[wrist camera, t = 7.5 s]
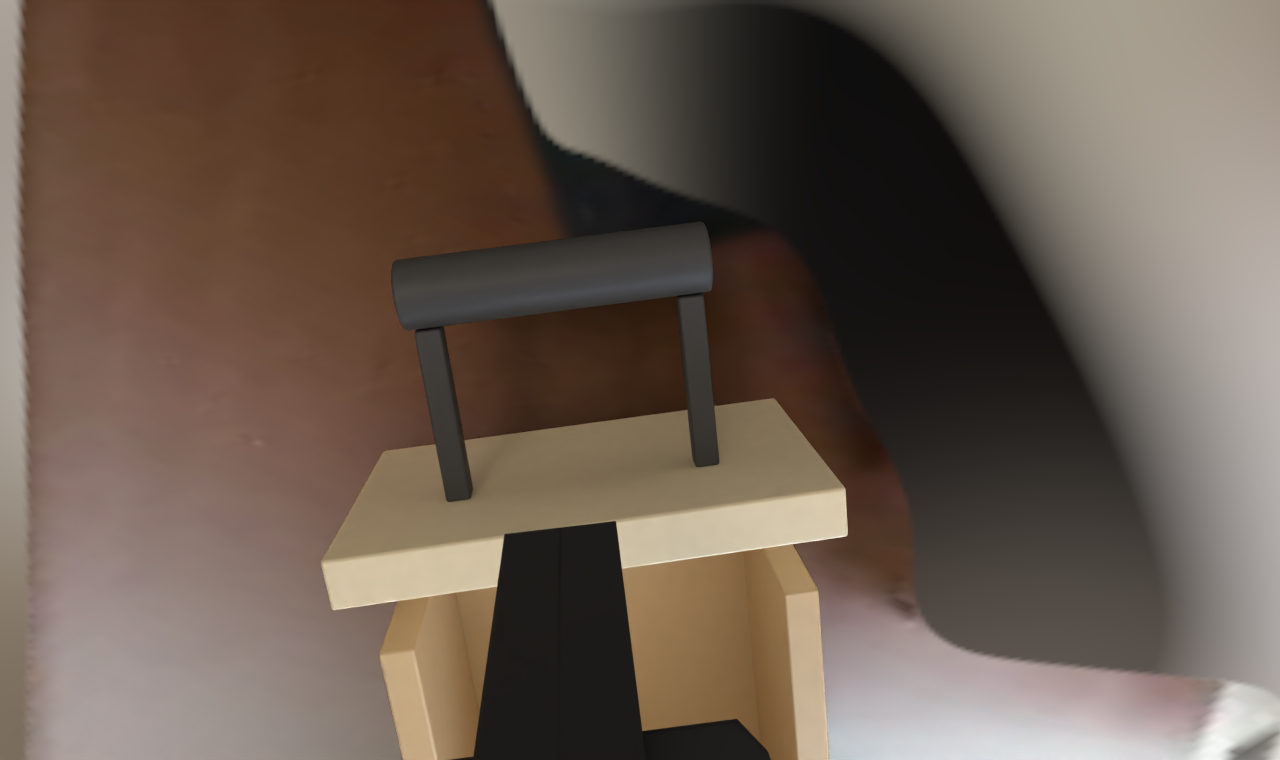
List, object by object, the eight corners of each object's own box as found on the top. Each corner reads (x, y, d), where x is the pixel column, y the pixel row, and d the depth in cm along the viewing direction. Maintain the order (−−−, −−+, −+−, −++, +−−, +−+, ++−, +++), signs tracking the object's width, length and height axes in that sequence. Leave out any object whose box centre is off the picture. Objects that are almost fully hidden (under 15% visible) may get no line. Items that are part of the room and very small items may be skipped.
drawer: (340, 248, 24) (253, 293, 17) (759, 196, 24) (832, 220, 18) (463, 833, 29) (433, 1037, 22) (803, 779, 29) (871, 963, 23)
